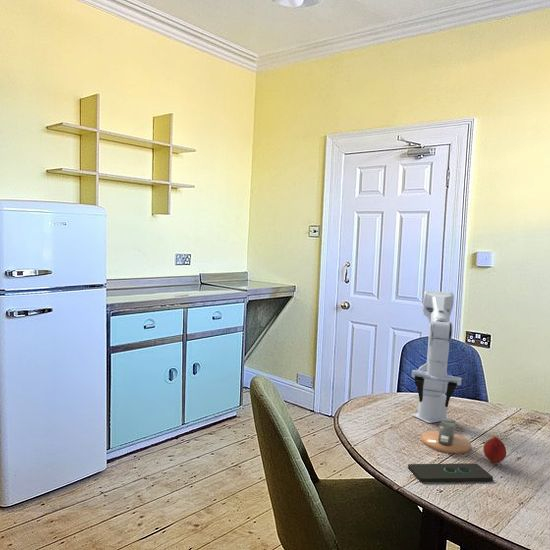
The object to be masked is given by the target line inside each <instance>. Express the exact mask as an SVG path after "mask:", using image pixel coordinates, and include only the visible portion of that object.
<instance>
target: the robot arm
mask: <svg viewBox="0 0 550 550" xmlns="http://www.w3.org/2000/svg"><path fill="white" fill-rule="evenodd" d="M454 301H455V295H454V293H453V292H446V291H444V292H443V291H435V290H428V289H427V290H425V291H424V292H423V303H422V312H423V316H425V317H426V318H427V319H428V324H429V326H428V327H429V328H428V339H427V341H428V342H427V354H426V356H427V357H426V363H424V364H422V365H421V366H420V367H419V368H418V369H412V371H411V376H410V377H411V378H414V381H413V382H414V384H415V387H416V390H417V393H418V405H417V406H418V408H417V412H416V413H412V414H411V416H413V417H415V418H417V419H419V420H421V421H423V422H425V423H428V424H432V423H437V422H441V420H442V419H443V418H447V413H448V407H449V402H450V400H451V397H452V395H453V393H454V391H455V390H456V389H457V387H458V386H461V385H462V377H458V376H453V375H450V374H448V371H447V369H448V360H449V353H450V352H449V351H450V348H449V347H450V342H451V341H452V338H453V323H452V321H450V317H451V315H452V312H453V308H454V303H455V302H454Z"/></svg>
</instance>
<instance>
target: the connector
mask: <svg viewBox="0 0 550 550" xmlns="http://www.w3.org/2000/svg"><path fill="white" fill-rule="evenodd" d="M456 424H457V422H456V420H454V419H453V418H452V419H451V418H448V417H446V418H443V419H442V420H441V421H440V423H439V427H438V431H439V436H438V443H439V444H441V445H444V446H452V444H453V440H454V434H456V433H455V431H456Z"/></svg>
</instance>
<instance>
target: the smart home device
mask: <svg viewBox="0 0 550 550" xmlns="http://www.w3.org/2000/svg"><path fill="white" fill-rule="evenodd" d="M407 469H409V470H410V471H411V472H412V473H413V474H412V473H411V472H410V471H409V470H408V471H409V472H410V473H411V474H412V475H413V476H414V478H416V479H417V481H418V480H419V481H420V482H419V481H418V482H419V483H421V482H446V483H491V482H492V483H493V481H494V476H493V475H491V474H490V473H489V472H488V471H486V470H485V469H484V468H483V467H482V466H480V465H479V464H478V463H464V462H463V463H410V464H407Z"/></svg>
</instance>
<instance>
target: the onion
mask: <svg viewBox="0 0 550 550" xmlns="http://www.w3.org/2000/svg"><path fill="white" fill-rule="evenodd" d="M482 450H483V454H484V456H485V457H486V458H487V459H488V460H489V462H490V463H491V464H493V465H494V464H495V465H496V464H499V463H500V462H501V461H503V460H504V459H506V457H507V448H506V446H505V444H504V442H503V441H502V440H501V439H500V438H499V437H498V436H497V435H496V434H494V435H493V437H492V438H489V439H488V440H486V442H485V443H484V444H483V448H482Z"/></svg>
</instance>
